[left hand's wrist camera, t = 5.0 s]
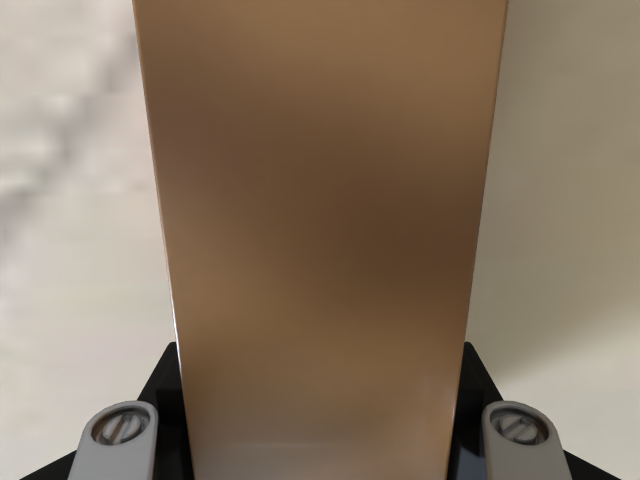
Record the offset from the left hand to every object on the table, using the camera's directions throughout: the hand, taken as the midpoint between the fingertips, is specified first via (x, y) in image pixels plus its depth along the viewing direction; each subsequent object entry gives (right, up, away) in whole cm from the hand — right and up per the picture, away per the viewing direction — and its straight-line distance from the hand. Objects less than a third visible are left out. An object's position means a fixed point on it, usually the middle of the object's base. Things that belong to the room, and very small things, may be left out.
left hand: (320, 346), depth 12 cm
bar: (0, +27, -8) cm, 28 cm away
